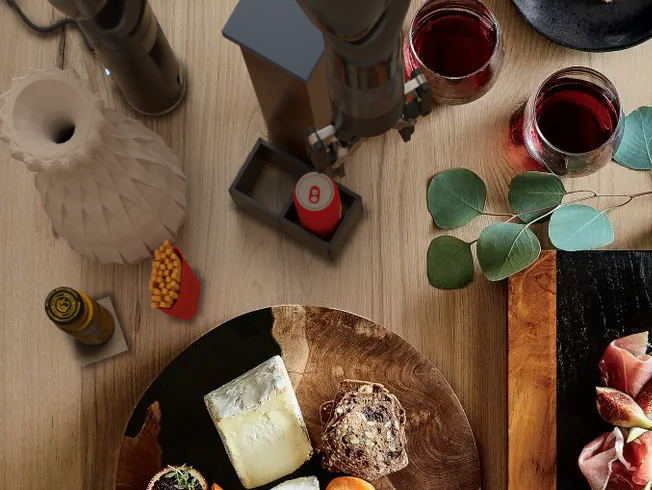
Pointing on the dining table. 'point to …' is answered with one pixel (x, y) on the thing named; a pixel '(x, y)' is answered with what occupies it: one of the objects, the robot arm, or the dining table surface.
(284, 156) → the rack
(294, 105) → the post
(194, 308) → the french fries
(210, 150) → the dining table surface
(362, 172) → the dining table surface
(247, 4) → the gray square slab
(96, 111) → the vase
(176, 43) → the dining table surface
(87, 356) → the condiment
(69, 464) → the dining table surface
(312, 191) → the beverage can
